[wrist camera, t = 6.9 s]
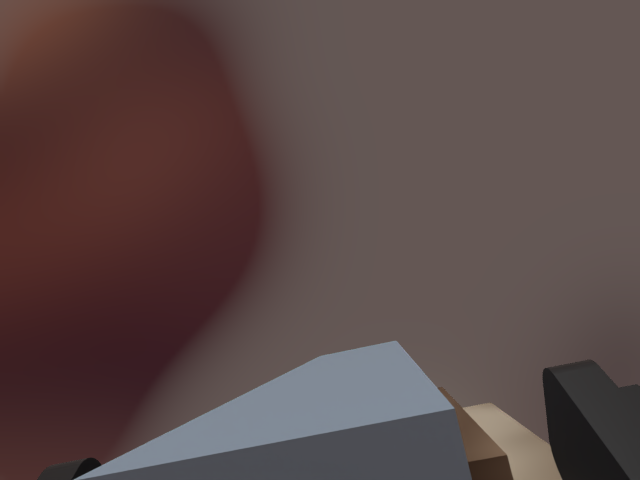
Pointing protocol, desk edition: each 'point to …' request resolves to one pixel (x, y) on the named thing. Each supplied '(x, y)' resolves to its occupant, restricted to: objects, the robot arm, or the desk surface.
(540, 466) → the zigzag patterned block
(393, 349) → the bar
